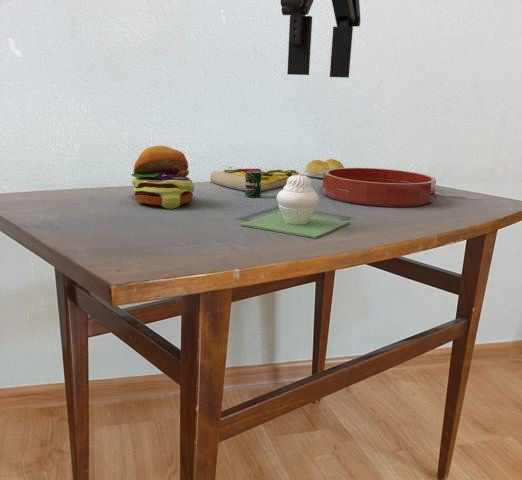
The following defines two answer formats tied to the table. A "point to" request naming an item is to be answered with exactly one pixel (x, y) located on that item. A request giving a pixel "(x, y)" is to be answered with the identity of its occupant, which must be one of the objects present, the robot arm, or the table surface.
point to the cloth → (311, 229)
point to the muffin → (297, 200)
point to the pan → (378, 187)
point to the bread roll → (321, 167)
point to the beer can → (253, 184)
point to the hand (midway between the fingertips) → (320, 76)
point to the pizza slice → (238, 178)
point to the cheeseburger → (162, 178)
